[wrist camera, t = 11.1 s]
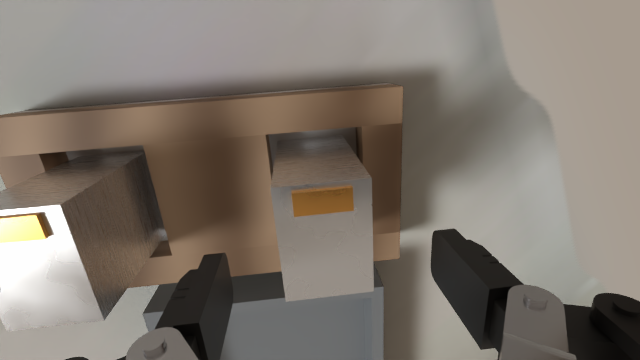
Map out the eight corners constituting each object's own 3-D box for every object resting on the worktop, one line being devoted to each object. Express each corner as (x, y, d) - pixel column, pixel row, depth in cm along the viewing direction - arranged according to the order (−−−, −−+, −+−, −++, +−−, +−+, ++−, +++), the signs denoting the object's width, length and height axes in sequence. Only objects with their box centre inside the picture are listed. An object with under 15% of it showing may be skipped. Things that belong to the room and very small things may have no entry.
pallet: (82, 267, 23) (53, 295, 20) (22, 111, 19) (-24, 119, 16) (386, 235, 24) (399, 258, 21) (387, 82, 20) (403, 86, 18)
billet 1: (107, 236, 21) (3, 334, 14) (79, 155, 19) (-59, 218, 12) (169, 230, 21) (101, 323, 14) (148, 150, 20) (56, 207, 12)
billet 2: (287, 219, 22) (285, 304, 14) (278, 140, 20) (269, 189, 12) (345, 213, 22) (375, 294, 14) (341, 134, 20) (372, 180, 13)
